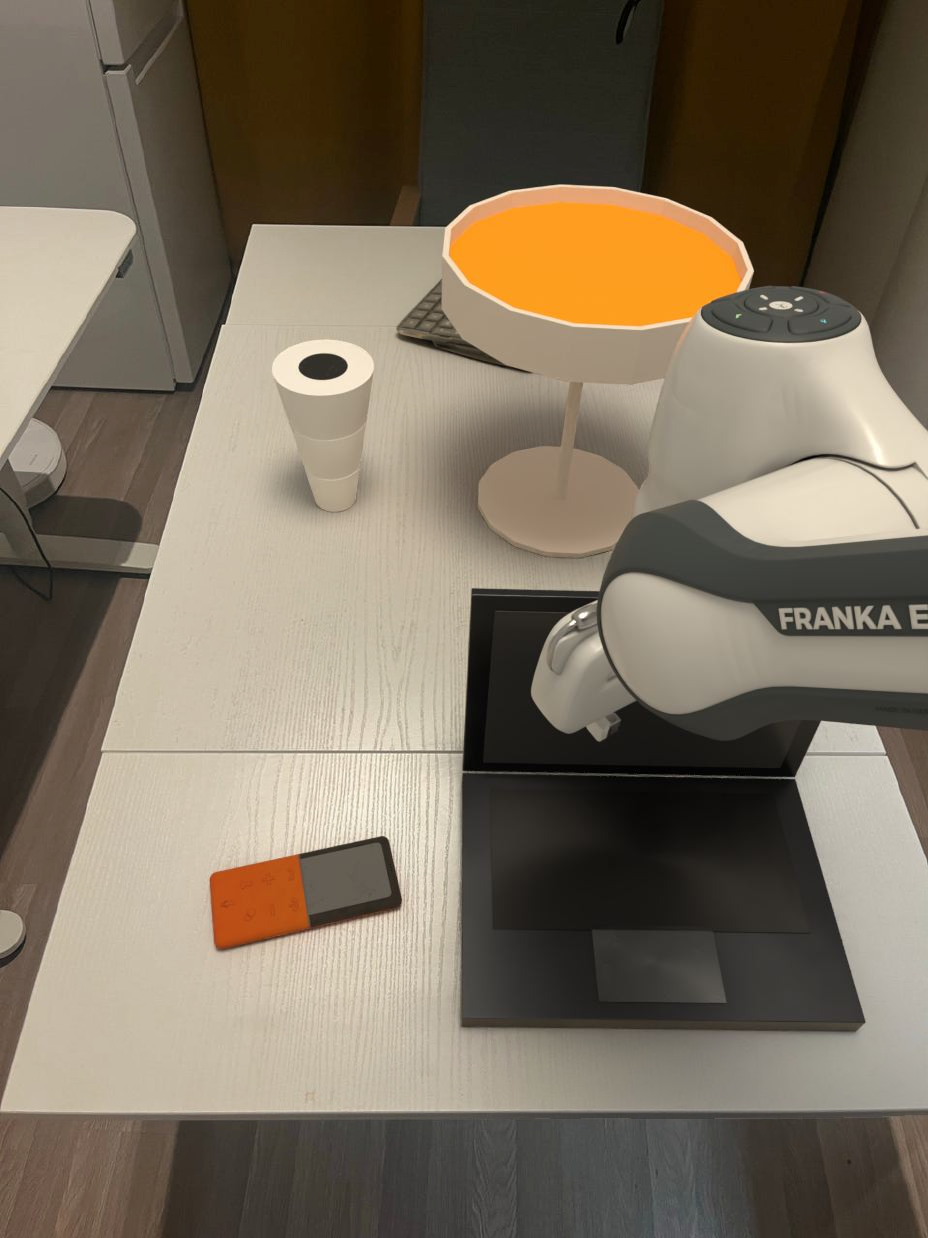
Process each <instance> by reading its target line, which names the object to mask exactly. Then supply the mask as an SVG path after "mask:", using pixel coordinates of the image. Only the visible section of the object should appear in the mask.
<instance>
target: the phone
mask: <svg viewBox="0 0 928 1238" xmlns="http://www.w3.org/2000/svg"><path fill="white" fill-rule="evenodd" d="M209 891H210V904H211V905H210V907H211V916H212V929H213V942H214V946H215V947H216V948H217V949H219V950H223V949H228V948H233V947H236V946H241V945H245V944H249V943H254V942H259V941H263V940H267V939H271V938H275V937H279V936H284V935H288V934H292V933H297V932H301V931H305V930H311V929H314V928H318V927H322V926H327V925H331V924H335V923H339V922H345V921H348V920H353V919H356V918H362V917H366V916H370V915H374V914H378V913H382V912H387V911H392V910H395V909H398V908H400V907H401V905H402V903H403V896H402V893H401V888H400V883H399V879H398V875H397V870H396V867H395V861H394V858H393V852H392V848H391V843H390V840H389V838H388V837H387V836H385V835H380V836H375V837H371V838H366V839H361V840H357V841H352V842H348V843H343V844H339V845H334V846H329V847H325V848H320V849H315V850H311V851H306V852H303V853H296V854H293V855H292V854H291V855H287V856H283V857H279V858H274V859H269V860H264V861H260V862H255V863H250V864H246V865H242V866H238V867H232V868H228V869H227V868H226V869H223V870H219V871H214V872H213V873H211V874H210V877H209Z"/></svg>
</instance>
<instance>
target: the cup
mask: <svg viewBox="0 0 928 1238" xmlns="http://www.w3.org/2000/svg"><path fill="white" fill-rule="evenodd" d="M374 371H375V362H374V359H373V358H372V356H371V354H370V353H368V351H366V350H365V349H364V348H362V347H360V346H359V345H356V344H354V343H351V342H348V341H344V340H338V339H312V340H307V341H304V342H300V343H297V344H294V345H291V346H289V347H288V348H285V349H284V350H282V351H281V352H280V353H279V354H278V355H277V356H276V357H275V358H274V360H273V362H272V364H271V374H272V377H273V380H274V383H275V386H276V388H277V392H278V394H279V398H280V400H281V404H282V406H283V410H284V412H285V415H286V418H287V420H288V424H289V427H290V430H291V433H292V436H293V438H294V441H295V444H296V447H297V450H298V453H299V456H300V459H301V462H302V464H303V468H304V471H305V474H306V478H307V480H308V484H309V487H310V489H311V492H312V496H313V498H314V501H315V504H316V506H317V507H318V508H319V509H321V510H323V511H326V512H329V513H331V512H332V513H338V512H343V511H347V510H349V509H350V508H352V506H353V505H354V504H356V500H357V491H358V485H359V484H358V483H359V479H360V470H361V464H362V462H361V460H362V454H363V448H364V442H365V435H366V427H367V421H368V413H369V407H370V401H371V400H370V399H371V394H372V386H373V380H374Z"/></svg>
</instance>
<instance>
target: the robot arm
mask: <svg viewBox="0 0 928 1238" xmlns="http://www.w3.org/2000/svg"><path fill="white" fill-rule="evenodd" d="M647 460H648V475H647V477H646V478H645V479H644V482H643V483H642V484H641V486H640V488H638V489H639V491H638V494H637V496H636V499H635V503H634V507H633V511H632V515H631V520H630V522H629V523H628V524H627V526H626V527H625V529H624V531H623V533H622V535H621V536H620V538H619V540H618V542H617V544H616V546H615V548H613V549H612V550H613V551H612V553H611V555H610V557H609V560H608V562H607V565H606V567H605V571H604V573H603V577H602V579H601V584H600V587H599V590H598V591H599V597H598V600H596V601H594V602H592V603H590V604H587V605H585V606H583V607H581V608H579V609H576V610H575V611H573V612H571V613H569V614H568V615H566V616H565V617H563V618H562V619H561V620H560V621H559V622H558V623H557V624H556V625H555V626H554V627H553V629H552V630H551V632H550V634H549V635H548V637H547V639H546V642H545V644H544V647H543V649H542V652H541V655H540V658H539V661H538V664H537V667H536V671H535V674H534V678H533V682H532V687H531V695H532V698H533V700H534V702H535V704H536V705H537V707H538V708H539V709H540V711H541V712H542V713H543V715H544V716H545V717H546V718H547V719H548V721H549V722H550V723H551V724H552V725H553V726H554V727H555V728H557V729H558V730H560V731H562V732H564V733H567V734H571V733H574V732H576V731H578V730H580V729H582V728H584V727H587V729H588V730H589V732H590V733H591V734H592V735H593V736H594V738H595V739H596V740H597V741H602V740H604V739H605V738H608V737H609V736H611V735H613V734H615V733H617V732H618V727H619V725H620V722H621V719H620V718H619V717H618V716H617V715H616V713H614V712H615V711H617V710H619V709H621V708H623V707H625V706H627V705H629V704H631V703H633V702H635V701H638V702H639V703H640V704H641V705H642V706H644V707H645V708H646V709H648V710H649V711H651V712H652V713H654V714H656V715H657V716H659V717H661V718H662V719H664V720H666V721H668V722H670V723H672V724H674V725H676V726H678V727H680V728H682V729H684V730H687V731H690V732H692V733H695V734H698V735H701V736H704V737H708V738H711V739H714V740H720V741H729V740H734V739H737V738H740V737H742V736H744V735H747V734H749V733H751V732H753V731H755V730H757V729H759V728H761V727H763V726H766V725H768V724H771V723H775V722H780V721H787V720H815V721H821V722H828V723H840V724H841V723H842V724H849V725H861V726H863V725H864V726H872V727H882V728H884V727H885V728H893V729H904V730H915V731H924V732H928V430H927V429H926V428H925V427H924V425H923V424H922V423H921V422H920V421H919V420H918V419H917V417H916V416H915V415H914V414H913V413H912V412H911V411H910V409H909V408H908V407H907V405H905V404H904V402H903V401H902V399H901V398H900V397H899V396H898V394H897V393H896V392H895V391H894V389H893V388H892V386H891V384H890V383H889V382H888V380H887V378H886V377H885V375H884V373H883V372H882V369H881V367H880V365H879V363H878V359H877V357H876V353H875V349H874V344H873V339H872V334H871V330H870V326H869V323H868V322H867V320H866V318H865V316H864V315H863V314H862V312H861V311H859V309H858V308H856V307H855V306H854V305H852V304H851V303H850V302H848V301H846V300H844V299H842V298H841V297H839V296H837V295H835V294H832V293H830V292H827V291H823V290H820V289H816V288H815V289H814V288H810V287H803V286H795V285H792V286H782V285H780V286H779V285H777V286H776V285H765V286H760V287H754V288H749V289H748V290H744V291H740V292H736V293H733V294H730V295H726V296H723V297H720V298H718V299H715V300H713V301H711V303H708V304H706V305H704V306H702V307H701V308H700V309H699V310H698V311H697V312H696V314H695V315H694V316H693V318H692V319H691V320H690V322H689V323H688V325H687V327H686V328H685V330H684V332H683V334H682V335H681V338H680V340H679V342H678V344H677V346H676V348H675V351H674V353H673V356H672V359H671V361H670V364H669V367H668V369H667V373H666V376H665V378H663V382H662V385H661V389H660V392H659V395H658V400H657V402H656V407H655V411H654V415H653V420H652V423H651V428H650V432H649V437H648V441H647Z"/></svg>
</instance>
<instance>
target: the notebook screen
mask: <svg viewBox="0 0 928 1238" xmlns="http://www.w3.org/2000/svg"><path fill="white" fill-rule="evenodd" d="M599 591H600V590H570V589H569V590H567V589H566V590H565V589H563V590H562V589H528V588H527V589H526V588H525V589H524V588H523V589H521V588H484V587H483V588H481V587H480V588H479V587H477V588H476V587H472V588H471V589H470V607H469V608H470V609H469V625H468V626H469V627H468V628H469V629H468V645H467V666H466V685H465V704H464V722H463V723H464V724H463V742H462V762H461V768H462V769H461V771H462V772H472V773H527V774H582V775H637V776H692V777H746V778H796V776H797V774H798V772H799V769H800V767H801V766H802V763H803V761H804V759H805V757H806V755H807V752H808V750H809V748H810V746H811V744H812V742H813V740H814V737H815V735H816V733H817V731H818V730H819V727H820V725H821V722H822V721H815V720H787V721H780V722H775V723H771V724H768V725H766V726H763V727H761V728H759V729H757V730H755V731H753V732H751V733H749V734H747V735H744V736H742V737H740V738H737V739H734V740H729V741H720V740H714V739H711V738H708V737H704V736H701V735H698V734H695V733H692V732H690V731H687V730H684V729H682V728H680V727H678V726H676V725H674V724H672V723H670V722H668V721H666V720H664V719H662V718H661V717H659V716H657V715H656V714H654V713H652V712H651V711H649V710H648V709H646V708H645V707H644V706H642V705H641V704H640V703H639V702H638V701H635V702H633V703H631V704H629V705H627V706H625V707H623V708H621V709H619V710H617V711H615V712H614V713H616V715H617V716H618V717H619V718H620V719H621V722H620V725H619V727H618V732H617V733H615V734H613V735H611V736H609V737H608V738H605V739H604V740H602V741H597V740H596V739H595V738H594V736H593V735H592V734H591V733H590V732H589V730H588V729H587V727H584V728H582V729H580V730H578V731H576V732H574V733H571V734H567V733H564V732H562V731H560V730H558V729H557V728H555V727H554V726H553V725H552V724H551V723H550V722H549V721H548V719H547V718H546V717H545V716H544V715H543V713H542V712H541V711H540V709H539V708H538V707H537V705H536V704H535V702H534V700H533V698H532V695H531V687H532V682H533V678H534V674H535V671H536V667H537V664H538V661H539V658H540V655H541V652H542V649H543V647H544V644H545V642H546V639H547V637H548V635H549V634H550V632H551V630H552V629H553V627H554V626H555V625H556V624H557V623H558V622H559V621H560V620H561V619H562V618H563V617H565V616H566V615H568V614H569V613H571V612H573V611H575V610H576V609H579V608H581V607H583V606H585V605H587V604H590V603H592V602H594V601H596V600H598V597H599Z"/></svg>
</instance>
